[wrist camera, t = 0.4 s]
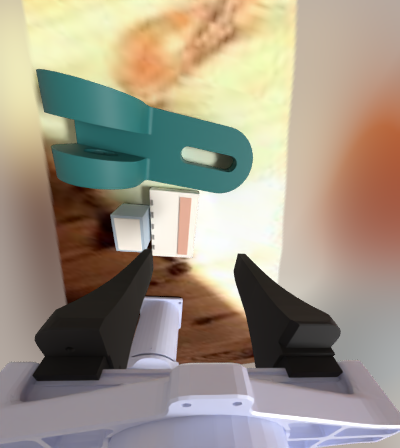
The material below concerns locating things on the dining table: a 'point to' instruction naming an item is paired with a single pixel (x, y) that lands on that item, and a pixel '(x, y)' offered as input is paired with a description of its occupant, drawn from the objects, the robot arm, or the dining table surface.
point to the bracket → (136, 140)
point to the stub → (131, 227)
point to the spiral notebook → (173, 221)
